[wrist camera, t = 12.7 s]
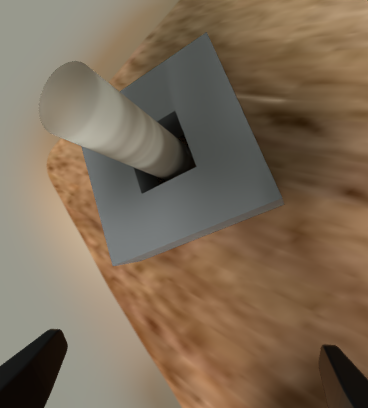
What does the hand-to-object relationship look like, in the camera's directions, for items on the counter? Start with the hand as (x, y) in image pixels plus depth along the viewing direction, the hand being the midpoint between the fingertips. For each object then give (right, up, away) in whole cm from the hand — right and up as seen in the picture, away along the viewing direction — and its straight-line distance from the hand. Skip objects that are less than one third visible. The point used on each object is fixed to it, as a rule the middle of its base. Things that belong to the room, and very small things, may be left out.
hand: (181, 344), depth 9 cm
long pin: (0, +8, +15) cm, 17 cm away
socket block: (0, +8, +15) cm, 17 cm away
